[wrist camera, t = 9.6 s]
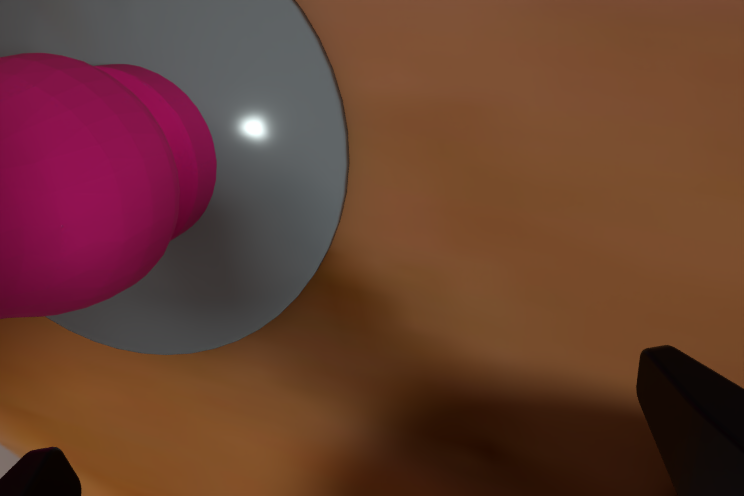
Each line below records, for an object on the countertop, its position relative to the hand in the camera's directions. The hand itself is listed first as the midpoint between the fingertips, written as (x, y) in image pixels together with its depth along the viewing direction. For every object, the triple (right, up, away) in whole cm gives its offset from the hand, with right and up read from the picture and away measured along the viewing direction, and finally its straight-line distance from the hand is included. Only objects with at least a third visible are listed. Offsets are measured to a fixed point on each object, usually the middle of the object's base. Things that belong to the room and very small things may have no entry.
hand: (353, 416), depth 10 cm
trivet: (-8, +6, +13) cm, 17 cm away
